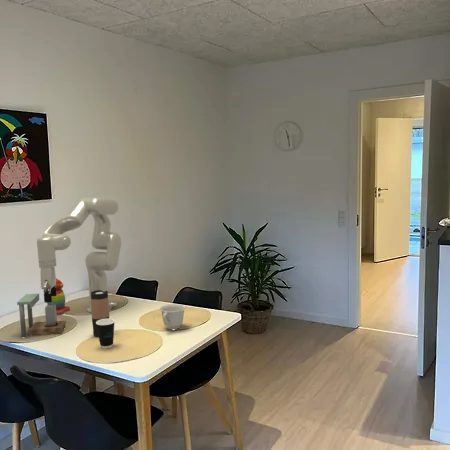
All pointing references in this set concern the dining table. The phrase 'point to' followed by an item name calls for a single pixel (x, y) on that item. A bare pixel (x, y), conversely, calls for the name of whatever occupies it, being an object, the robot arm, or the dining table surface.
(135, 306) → the dining table surface
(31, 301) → the green topped stand
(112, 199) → the robot arm
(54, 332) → the socket block
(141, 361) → the dining table surface
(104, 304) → the travel mug
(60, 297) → the rainbow stacking rings
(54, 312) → the peg
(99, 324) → the dixie cup
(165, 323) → the teacup
